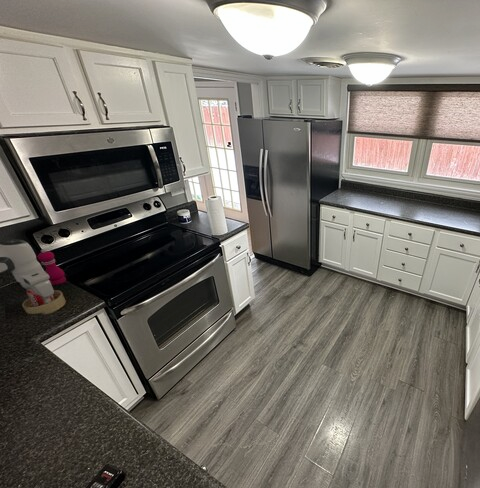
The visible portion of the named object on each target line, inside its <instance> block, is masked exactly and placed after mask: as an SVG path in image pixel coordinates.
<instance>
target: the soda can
mask: <svg viewBox="0 0 480 488" xmlns="http://www.w3.org/2000/svg"><path fill="white" fill-rule="evenodd" d="M25 289H26V291H25V292H26V296H27V297H28V298H29V299H30V301H31V302H32V304H33V306H34V307H37V306H41V305H44V304H47V303H46V302H44V300H43V299H44V298H43V297H41V296H39V295H37V294H36V293H35V291H34V290H33V289H31V288H29V287H27V288H25ZM50 299H51V302H52V301H54V300H55V299H54V297H53V295H51V296H50Z"/></svg>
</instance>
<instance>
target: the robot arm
mask: <svg viewBox="0 0 480 488" xmlns="http://www.w3.org/2000/svg"><path fill="white" fill-rule="evenodd" d="M9 273H11V274H12V276H13V277H14V279H15V281H16V282H17V283H19V284H20V286H21V287H22V288H23V289H26V288H27V287H29V288H31V289H33V290H34V291H35V293H36V294H37V295H39V296H41V297H43V298H44V299H43V300H44V302H46V303H49V302H51V299H50V296H51V295H53V294H54V287H53V285H52V284H51V283H50V280H49V278H50V277H49V275H48V274H47V273H46V270H44V268H43V266H42V264H41V263H40V261H39V260H38V258H37V255H36V253H35V251H34V249H33V248H32V246H31V244H29V242H27V241H25V240H24V239H7V240H6V239H5V240H3V241H0V277H2V276H3V275H6V274H9Z"/></svg>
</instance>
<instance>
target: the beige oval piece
mask: <svg viewBox="0 0 480 488" xmlns="http://www.w3.org/2000/svg"><path fill="white" fill-rule="evenodd" d="M53 290H54V289H53ZM53 297H54V299H55V300H54V301H52V302H49V303H47V304H44V305H41V306H37V307H34V306H33V304H32V302H31V301H30V299H29V297H28V298H27V299H25V300H24V301H23V302H22V303H21V306H22V308H23V310H24V312H25V313H26V314H29V315H36V314H43V315H45V316H46V315H49V314H52V313H54V312H57V311H58V310H60V309H62V308H63V307H64V306H65V305H66V303H67V300H66V297H65V295H64V293H63V292H62V291H61V290H57V289H55V290H54V294H53Z"/></svg>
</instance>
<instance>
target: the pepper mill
mask: <svg viewBox="0 0 480 488" xmlns="http://www.w3.org/2000/svg"><path fill="white" fill-rule="evenodd" d="M37 260H38V261H39V262H41V265H43V266H44V267H45V272H46V273H47V274H48V275H49V277H50V278H49V281H50V283H51V285H52V286H55V285H60V284H62V283H64V282H66V281H67V277H66V276H65V271H64V270H63V269H61V268H60V266H58V265H57V264H56V259H55V254H54V252H52V251H48V250H46V249H41V250H40V253H38V255H37Z"/></svg>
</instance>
